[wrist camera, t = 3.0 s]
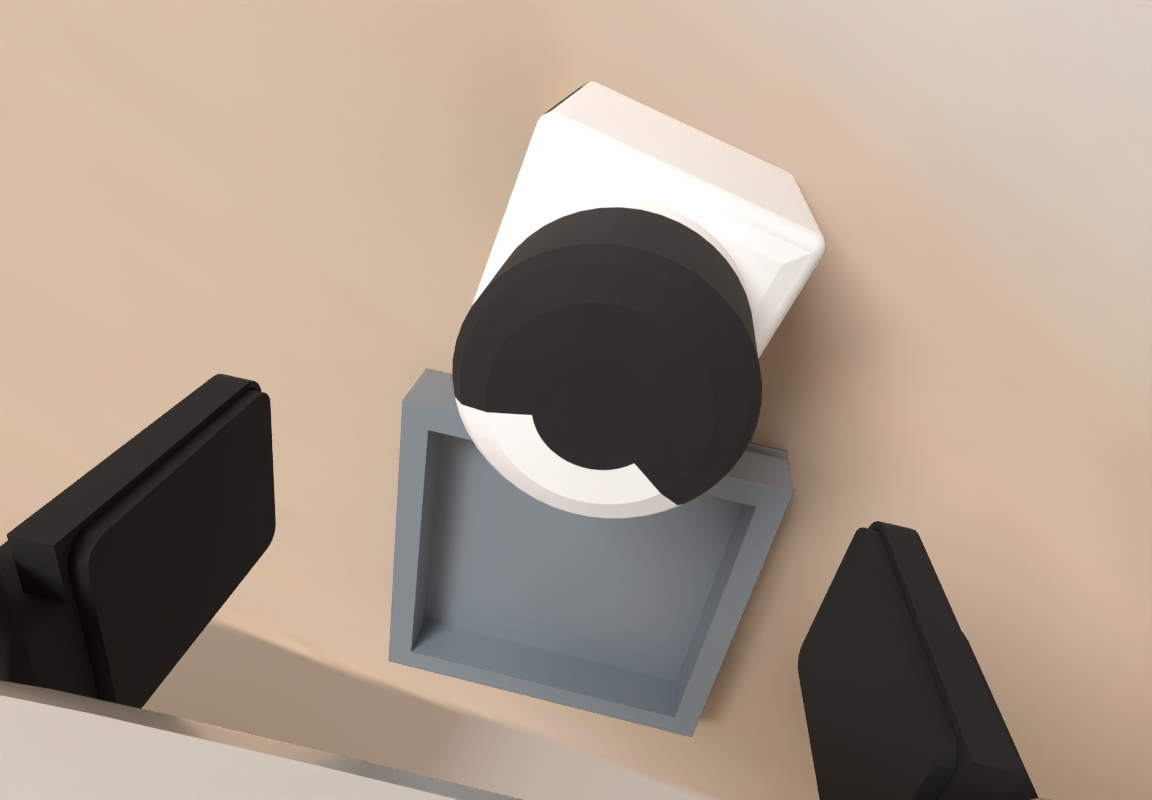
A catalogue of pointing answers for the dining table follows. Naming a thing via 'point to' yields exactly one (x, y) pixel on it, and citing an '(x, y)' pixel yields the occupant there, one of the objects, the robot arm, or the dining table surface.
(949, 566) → the dining table surface
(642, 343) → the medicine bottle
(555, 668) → the tray
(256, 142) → the dining table surface
